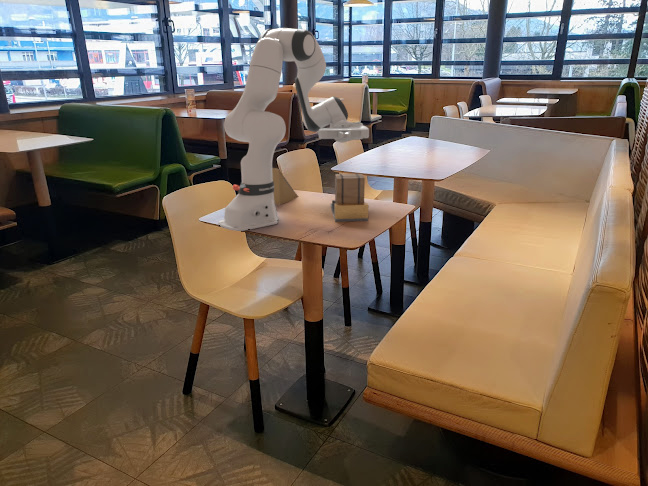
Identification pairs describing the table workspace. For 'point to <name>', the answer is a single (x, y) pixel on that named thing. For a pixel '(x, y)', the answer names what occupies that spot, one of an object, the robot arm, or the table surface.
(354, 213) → the roller track
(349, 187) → the crate
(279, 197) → the sandwich container
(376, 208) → the table surface
